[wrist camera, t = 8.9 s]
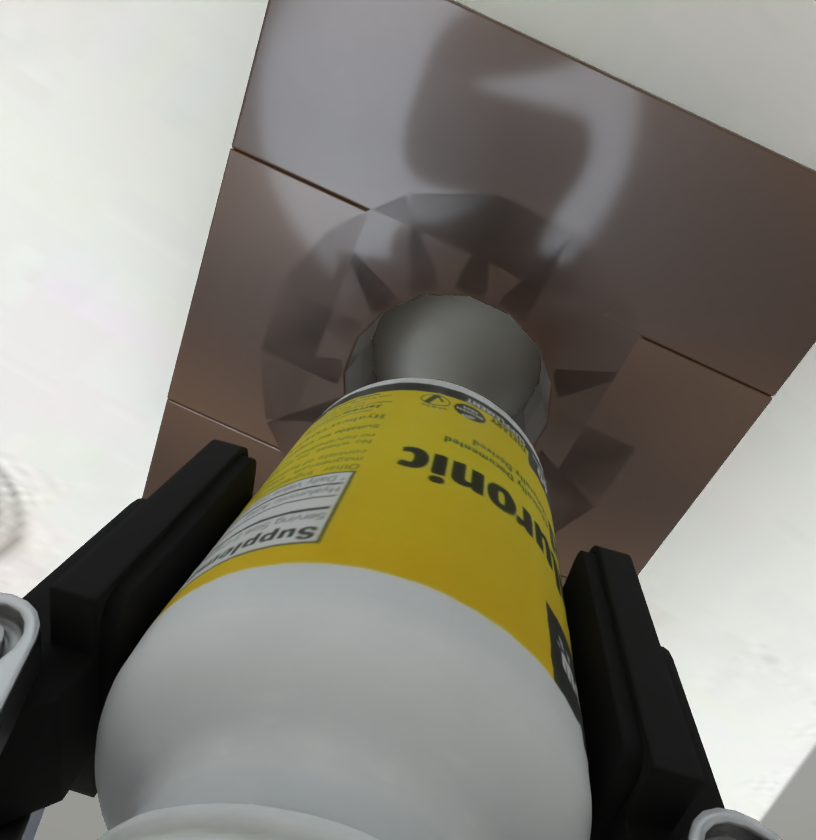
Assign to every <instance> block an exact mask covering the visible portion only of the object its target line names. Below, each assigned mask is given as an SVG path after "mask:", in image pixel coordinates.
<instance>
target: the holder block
mask: <svg viewBox="0 0 816 840" xmlns="http://www.w3.org/2000/svg"><path fill="white" fill-rule="evenodd" d="M232 147H233V148H234V149H230V153H229V157H228V161H227V164H226V168H225V172H224V176H223V180H222V184H221V188H220V192H219V196H218V200H217V204H216V208H215V212H214V216H213V220H212V224H211V227H210V231H209V235H208V239H207V243H206V247H205V251H204V255H203V259H202V263H201V267H200V271H199V275H198V279H197V283H196V287H195V290H194V294H193V298H192V302H191V306H190V310H189V314H188V318H187V322H186V326H185V330H184V334H183V338H182V342H181V346H180V350H179V353H178V357H177V361H176V365H175V369H174V373H173V377H172V381H171V385H170V389H169V393H168V399H167V402H166V406H165V410H164V414H163V418H162V422H161V426H160V430H159V434H158V438H157V442H156V446H155V450H154V454H153V457H152V461H151V465H150V469H149V473H148V477H147V481H146V485H145V489H144V493H143V497H142V498H145V499H147V498H148V497H149V496H151V495H152V494H153V493H154V492H155V491H156V490H157V489H158V488H159V487H161V486H162V485H163V484H164V483H165V482H166V481H167V480H168V479H169V478H171V477H172V476H173V475H174V474H175V473H176V472H177V471H178V470H179V469H181V468H182V467H183V466H184V465H185V464H186V463H187V462H188V461H189V460H191V459H192V458H193V457H194V456H195V455H196V454H197V453H198V452H199V451H201V450H202V449H203V448H204V447H205V446H206V445H207V444H208V443H209V442H211V441H212V440H214V439H217V440H221V441H224V442H228V443H231V444H235V445H239V446H242V447H246V448H247V450H248V457H250V458H254V459H256V462H257V467H256V475H255V482H254V490H253V497H254V495H255V494H256V493H257V492H258V491H259V489H260V488H261V487H262V485H263V484H264V483H265V481H266V480H267V479H268V478H269V476H270V475H271V474H272V473H273V471H274V470H275V469H276V468H277V467H278V465H279V464H280V463H281V462H282V460H283V459H284V458H285V457H286V455H287V454H288V453H289V452H290V450H291V449H292V448H293V447H294V445H295V444H296V443H297V442H298V440H299V439H300V438H301V437H302V435H303V434H304V433H305V432H306V431H307V429H308V428H309V427H310V426H311V425H312V424H313V422H314V421H315V420H316V419H317V418H318V417H319V416H321V415H322V414H323V413H324V412H325V411H326V410H327V409H328V408H329V407H330V406H332V405H333V404H334V403H335V402H337V401H338V400H340V399H341V398H343V397H344V396H346V395H347V394H349V393H351V392H353V391H355V390H357V389H360V388H362V387H365V386H367V385H370V384H374V383H377V379H376V377H375V375H374V372H373V355H372V338H373V336H374V334H375V331H376V329H377V326H378V324H379V321H380V319H381V316H382V315H383V314H384V313H385V312H386V311H387V310H388V309H390V308H393V307H396V306H398V305H401V304H403V303H406V302H409V301H411V300H414V299H417V298H419V297H422V296H425V295H448V296H470V297H472V298H474V299H477V300H479V301H481V302H483V303H485V304H487V305H490V306H492V307H494V308H496V309H498V310H501V311H503V312H505V313H507V314H509V315H510V316H511V317H512V318H513V319H514V320H515V321H516V322H517V323H518V325H519V326H520V327H521V328H522V329H523V330H524V331H525V332H526V333H527V334H528V336H529V337H530V338H531V339H532V340H533V341H534V342H535V343H536V344H537V345H538V348H539V351H540V354H541V357H542V361H541V371H540V381H539V382H538V384H537V386H536V388H535V389H534V391H533V393H532V395H531V397H530V398H529V400H528V402H527V404H526V406H525V407H524V409H523V410H521V411H520V412H519V413H518V414H516V415H515V416H514V417H512V418H511V419H512V420H513V421H514V422H515V423H516V424H517V425H518V426H519V427H520V429H521V430H522V431H523V432H524V434H525V435H526V437H527V438H528V440H529V441H530V443H531V444H532V446H533V448H534V450H535V452H536V454H537V456H538V458H539V461H540V464H541V466H542V469H543V473H544V477H545V480H546V484H547V489H548V493H549V497H550V501H551V511H552V520H553V527H554V534H555V540H556V547H557V554H558V562H559V569H560V575H561V580H562V588H563V586H564V584H565V581H566V579H567V577H568V574H569V572H570V570H571V567H572V565H573V563H574V560H575V558H576V556H577V554H578V553H579V551H581V550H582V551H586V552H589V551H590V550H591V548H592V547H593V546H595V545H597V546H600V547H604V548H607V549H611V550H614V551H618V552H622V553H625V554H628V555H630V557H631V559H632V561H633V564H634V567H635V570H636V573H637V575H638V574H639V573H640V572H641V570H642V569H643V568H644V566H645V565H646V564H647V562H648V561H649V560H650V558H651V557H652V556H653V554H654V553H655V552H656V551H657V549H658V548H659V547H660V545H661V544H662V543H663V541H664V540H665V539H666V537H667V536H668V535H669V534H670V532H671V531H672V530H673V528H674V527H675V526H676V524H677V523H678V522H679V520H680V519H681V518H682V516H683V515H684V514H685V513H686V511H687V510H688V509H689V507H690V506H691V505H692V503H693V502H694V501H695V499H696V498H697V497H698V495H699V494H700V493H701V492H702V490H703V489H704V488H705V486H706V485H707V484H708V482H709V481H710V480H711V478H712V477H713V476H714V475H715V473H716V472H717V471H718V469H719V468H720V467H721V465H722V464H723V463H724V461H725V460H726V459H727V457H728V456H729V455H730V454H731V452H732V451H733V450H734V448H735V447H736V446H737V444H738V443H739V442H740V440H741V439H742V438H743V436H744V435H745V434H746V433H747V431H748V430H749V429H750V427H751V426H752V425H753V423H754V422H755V421H756V419H757V418H758V417H759V416H760V414H761V413H762V412H763V410H764V409H765V408H766V406H767V405H768V404H769V402H770V401H771V400H772V397H771V396H774V395H775V394H776V393H777V391H778V390H779V389H780V387H781V386H782V385H783V384H784V382H785V381H786V380H787V378H788V377H789V376H790V374H791V373H792V372H793V370H794V369H795V368H796V366H797V365H798V364H799V363H800V361H801V360H802V359H803V357H804V356H805V355H806V353H807V352H808V351H809V349H810V348H811V347H812V345H813V344H814V343H815V342H816V171H815V170H813V169H811V168H808V167H806V166H804V165H802V164H800V163H798V162H796V161H794V160H791V159H789V158H787V157H785V156H783V155H781V154H779V153H777V152H775V151H772V150H770V149H768V148H766V147H764V146H762V145H760V144H758V143H755V142H753V141H751V140H749V139H747V138H745V137H743V136H741V135H738V134H736V133H734V132H732V131H730V130H728V129H726V128H724V127H721V126H719V125H717V124H715V123H713V122H711V121H709V120H707V119H704V118H702V117H700V116H698V115H696V114H694V113H692V112H690V111H687V110H685V109H683V108H681V107H679V106H677V105H675V104H673V103H670V102H668V101H666V100H664V99H662V98H660V97H658V96H656V95H653V94H651V93H649V92H647V91H645V90H643V89H641V88H639V87H636V86H634V85H632V84H630V83H628V82H626V81H624V80H622V79H619V78H617V77H615V76H613V75H611V74H609V73H607V72H605V71H603V70H600V69H598V68H596V67H594V66H592V65H590V64H588V63H586V62H583V61H581V60H579V59H577V58H575V57H573V56H571V55H569V54H566V53H564V52H562V51H560V50H558V49H556V48H554V47H552V46H549V45H547V44H545V43H543V42H541V41H539V40H537V39H535V38H532V37H530V36H528V35H526V34H524V33H522V32H520V31H518V30H515V29H513V28H511V27H509V26H507V25H505V24H503V23H501V22H498V21H496V20H494V19H492V18H490V17H488V16H486V15H484V14H481V13H479V12H477V11H475V10H473V9H471V8H469V7H467V6H464V5H462V4H460V3H458V2H456V1H454V0H269V1H268V5H267V9H266V13H265V17H264V21H263V25H262V29H261V33H260V37H259V41H258V45H257V49H256V53H255V57H254V60H253V64H252V68H251V72H250V76H249V80H248V84H247V88H246V92H245V96H244V100H243V104H242V108H241V112H240V115H239V119H238V123H237V127H236V131H235V135H234V139H233V143H232ZM253 497H252V498H253Z"/></svg>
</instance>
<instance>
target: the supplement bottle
mask: <svg viewBox="0 0 816 840" xmlns="http://www.w3.org/2000/svg"><path fill="white" fill-rule="evenodd" d="M95 781H96V788H97V793H98V797H99V802H100V807H101V811H102V815H103V818H104V821H105V823H106V826H107V829H108V832H106V833H104V834H103V835H102V836H101V837H100V838H99V839H98V840H590V834H591V824H592V798H591V789H590V781H589V770H588V758H587V748H586V738H585V732H584V726H583V717H582V713H581V709H580V703H579V696H578V689H577V685H576V679H575V671H574V663H573V657H572V650H571V642H570V633H569V629H568V624H567V618H566V608H565V602H564V596H563V588H562V580H561V575H560V569H559V562H558V554H557V547H556V540H555V534H554V527H553V520H552V511H551V501H550V497H549V493H548V489H547V484H546V480H545V477H544V473H543V469H542V466H541V464H540V461H539V458H538V456H537V454H536V452H535V450H534V448H533V446H532V444H531V443H530V441H529V440H528V438H527V437H526V435H525V434H524V432H523V431H522V430H521V429H520V427H519V426H518V425H517V424H516V423H515V422H514V421H513V420H512V419H511V418H510V416H509V415H507V414H506V413H505V412H504V411H503V410H502V409H500V408H499V407H498V406H496V405H495V404H493V403H492V402H491V401H489V400H488V399H486V398H484V397H482V396H481V395H479V394H477V393H475V392H473V391H471V390H469V389H466V388H464V387H462V386H459V385H456V384H453V383H450V382H446V381H441V380H436V379H428V378H399V379H391V380H385V381H381V382H377V383H374V384H370V385H367V386H365V387H362V388H360V389H357V390H355V391H353V392H351V393H349V394H347V395H346V396H344V397H343V398H341V399H340V400H338V401H337V402H335V403H334V404H333V405H332V406H330V407H329V408H328V409H327V410H326V411H325V412H324V413H323V414H322V415H321V416H319V417H318V418H317V419H316V420H315V421H314V422H313V424H312V425H311V426H310V427H309V428H308V429H307V431H306V432H305V433H304V434H303V435H302V437H301V438H300V439H299V440H298V442H297V443H296V444H295V445H294V447H293V448H292V449H291V450H290V452H289V453H288V454H287V455H286V457H285V458H284V459H283V460H282V462H281V463H280V464H279V465H278V467H277V468H276V469H275V470H274V471H273V473H272V474H271V475H270V476H269V478H268V479H267V480H266V481H265V483H264V484H263V485H262V487H261V488H260V489H259V491H258V492H257V493H256V494H255V495H254V497H253V498H252V499H251V500H250V502H249V503H248V504H247V505H246V506H245V508H244V509H243V510H242V512H241V513H240V514H239V516H238V517H237V518H236V519H235V521H234V522H233V523H232V524H231V525H230V527H229V528H228V529H227V530H226V532H225V533H224V534H223V536H222V537H221V539H220V540H219V541H218V542H217V544H216V545H215V546H214V547H213V548H212V550H211V551H210V552H209V553H208V555H207V556H206V557H205V559H204V560H203V561H202V562H201V564H200V565H199V566H198V567H197V568H196V569H195V570H194V572H193V573H192V574H191V576H190V577H189V578H188V580H187V581H186V582H185V584H184V585H183V586H182V587H181V588H180V589H179V591H178V592H177V593H176V594H175V595H174V596H173V598H172V599H171V601H170V602H169V603H168V604H167V605H166V607H165V608H164V609H163V610H162V612H161V613H160V614H159V615H158V617H157V618H156V619H155V621H154V622H153V623H152V624H151V626H150V627H149V628H148V630H147V631H146V632H145V634H144V635H143V637H142V638H141V640H140V641H139V643H138V644H137V646H136V647H135V649H134V650H133V652H132V653H131V655H130V656H129V657H128V659H127V660H126V662H125V663H124V665H123V666H122V668H121V669H120V671H119V673H118V674H117V676H116V678H115V680H114V682H113V684H112V687H111V689H110V692H109V694H108V696H107V699H106V702H105V705H104V708H103V711H102V714H101V718H100V722H99V726H98V731H97V739H96V749H95Z"/></svg>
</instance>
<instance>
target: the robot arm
mask: <svg viewBox="0 0 816 840" xmlns="http://www.w3.org/2000/svg"><path fill="white" fill-rule="evenodd" d="M256 467H257V462H256V459H254V458H250V457H248V450H247V448H246V447H242V446H239V445H235V444H231V443H228V442H224V441H221V440H217V439H214V440H212V441H211V442H209V443H208V444H207V445H206V446H205V447H204V448H203V449H202V450H201V451H199V452H198V453H197V454H196V455H195V456H194V457H193V458H192V459H191V460H189V461H188V462H187V463H186V464H185V465H184V466H183V467H182V468H181V469H179V470H178V471H177V472H176V473H175V474H174V475H173V476H172V477H171V478H169V479H168V480H167V481H166V482H165V483H164V484H163V485H162V486H161V487H159V488H158V489H157V490H156V491H155V492H154V493H153V494H152V495H151V496H149V497H148V498H147V499H145V498H141V499H137V500H136V501H134V502H132V503H131V504H130V505H129V506H127V507H126V508H125V509H124V510H123V511H122V512H121V513H119V514H118V515H117V516H116V517H115V518H114V519H113V520H111V521H110V522H109V523H108V524H107V525H106V526H105V527H103V528H102V529H101V530H100V531H99V532H98V533H97V534H95V535H94V536H93V537H92V538H91V539H90V540H89V541H87V542H86V543H85V544H84V545H83V546H82V547H81V548H79V549H78V550H77V551H76V552H75V553H74V554H73V555H71V556H70V557H69V558H68V559H67V560H66V561H65V562H63V563H62V564H61V565H60V566H59V567H58V568H57V569H55V570H54V571H53V572H52V573H51V574H50V575H48V576H47V577H46V578H45V579H44V580H43V581H42V582H40V583H39V584H38V585H37V586H36V587H35V588H34V589H32V590H31V591H30V592H29V593H28V594H27V595H26V596H24V597H23V598H20V597H17V596H15V595H13V594H6V593H0V840H34V837H35V834H36V832H37V829H38V826H39V824H40V821H41V818H42V815H43V812H44V810H45V807H47V806H49V805H51V804H54V803H57V802H59V801H61V800H63V798H64V797H65V795H66V794H67V793H68V791H69V790H72V791H75V792H78V793H81V794H84V795H88V796H91V797H94V796H95V795H96V793H97V788H96V781H95V749H96V739H97V731H98V726H99V722H100V718H101V714H102V711H103V708H104V705H105V702H106V699H107V696H108V694H109V692H110V689H111V687H112V684H113V682H114V680H115V678H116V676H117V674H118V673H119V671H120V669H121V668H122V666H123V665H124V663H125V662H126V660H127V659H128V657H129V656H130V655H131V653H132V652H133V650H134V649H135V647H136V646H137V644H138V643H139V641H140V640H141V638H142V637H143V635H144V634H145V632H146V631H147V630H148V628H149V627H150V626H151V624H152V623H153V622H154V621H155V619H156V618H157V617H158V615H159V614H160V613H161V612H162V610H163V609H164V608H165V607H166V605H167V604H168V603H169V602H170V601H171V599H172V598H173V596H174V595H175V594H176V593H177V592H178V591H179V589H180V588H181V587H182V586H183V585H184V584H185V582H186V581H187V580H188V578H189V577H190V576H191V574H192V573H193V572H194V570H195V569H196V568H197V567H198V566H199V565H200V564H201V562H202V561H203V560H204V559H205V557H206V556H207V555H208V553H209V552H210V551H211V550H212V548H213V547H214V546H215V545H216V544H217V542H218V541H219V540H220V539H221V537H222V536H223V534H224V533H225V532H226V530H227V529H228V528H229V527H230V525H231V524H232V523H233V522H234V521H235V519H236V518H237V517H238V516H239V514H240V513H241V512H242V510H243V509H244V508H245V506H246V505H247V504H248V503H249V502H250V500H251V499H252V497H253V490H254V482H255V475H256ZM563 596H564V602H565V608H566V618H567V624H568V629H569V633H570V642H571V650H572V657H573V663H574V671H575V679H576V685H577V689H578V696H579V703H580V709H581V713H582V717H583V726H584V732H585V738H586V748H587V758H588V770H589V781H590V789H591V798H592V824H591V834H590V840H782V839H781V838H780V837H779V836H778V835H777V834H776V833H774V832H773V831H771V830H770V829H769V828H767V827H766V826H764V825H763V824H761V823H760V822H758V821H757V820H755V819H753V818H751V817H749V816H746V815H744V814H742V813H740V812H737V811H735V810H729V809H725V808H724V805H723V802H722V799H721V796H720V793H719V790H718V788H717V785H716V782H715V779H714V776H713V773H712V770H711V767H710V765H709V762H708V759H707V756H706V753H705V750H704V747H703V744H702V742H701V739H700V736H699V733H698V730H697V727H696V724H695V721H694V718H693V716H692V713H691V710H690V707H689V704H688V701H687V698H686V695H685V693H684V690H683V687H682V684H681V681H680V678H679V675H678V672H677V669H676V667H675V664H674V661H673V658H672V656H671V654H670V653H669V651H668V650H667V649H665V648H664V647H662V646H660V643H659V640H658V637H657V634H656V631H655V628H654V625H653V622H652V619H651V616H650V613H649V610H648V607H647V604H646V601H645V598H644V595H643V592H642V589H641V585H640V582H639V579H638V576H637V573H636V570H635V567H634V564H633V561H632V559H631V557H630V555H628V554H625V553H622V552H618V551H614V550H611V549H607V548H604V547H600V546H597V545H595V546H593V547H592V548H591V550H590V551H589V552H586V551H582V550H581V551H579V553H578V554H577V556H576V558H575V560H574V563H573V565H572V567H571V570H570V572H569V574H568V577H567V579H566V581H565V584H564V586H563Z"/></svg>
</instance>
